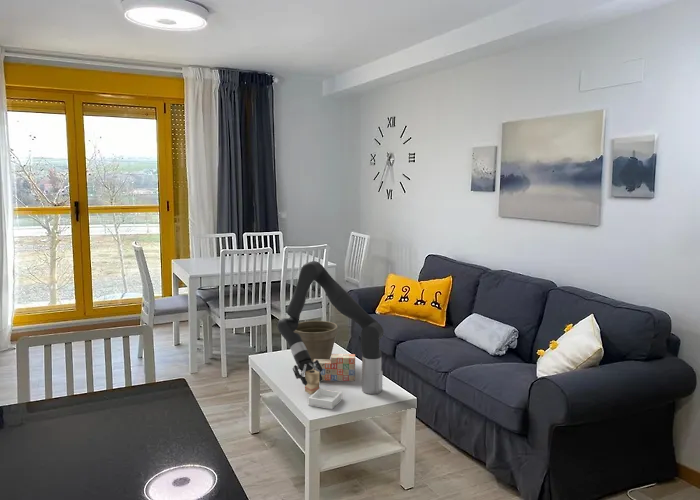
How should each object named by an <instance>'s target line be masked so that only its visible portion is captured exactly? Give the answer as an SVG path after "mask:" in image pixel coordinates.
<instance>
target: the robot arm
mask: <svg viewBox="0 0 700 500" xmlns="http://www.w3.org/2000/svg"><path fill="white" fill-rule="evenodd" d="M313 282H316V283H317V284H318V285H319V286H320V287H321V288H322V289H323V290H324V292H325V294H326V296H327V298H328V300H329V303H330V304H331V305H332V306H333V307H334V308H335V309H336V310H337V311H338V312H339V313H340V314H341V315H343V316H345V317H347V318H349V319H351V320H352V321H354V322H355V323H357V324H358V326H360V328H361V331H360V351H361V355H362V356H361V363H362V364H361V391H362V392H363V393H365V394H367V395H368V394H369V395H378V394H380V393H381V392H382V391H383V377H384V376H383V375H384V373H383V372H384V371H383V370H382V350H381V349H380V340H381V339H382V338H383V336H384V335H385V333H384V331H385V330H384V328H383V326H382V325H381V323H379V322H378V321H377V320H376V319H375V318H374V317H372V316H371V315H370V314H369V313H368V312H366V311H365V309H363V307H361V305H360V304H359V303H358V302H357V301H356V300H355V299H354V298H353V297H352V296H351V295H350V294H349V293H348V291H346V290H345V289H344V288H343V287H342V286H341V285H340V284H339V283H338V281H336V280H335V279H334V278H333V277H332V275H331V274H330V273H329V271H327V269H326V268H325V267H324V266H323V265H322V263H320V262H319V261H316V260H315V261H314V260H313V261H309V262H305V263H304V264H303V265H302V266H301V268H300V273H299V276H298V280H297V283H296V287H295V290H294V292H293V294H292V297H291V299H290V301H289V304H288V306H287V309H286V314H287V315H288V316H289V317H288V318H285V317H283V318H280V319H279V320H278V322H277V326H276V327H277V330H278V332H279V334H280V335H281V336H282V338H283V339H284V340H285V341H286V342H287V344H288V346H289V349H290V351H291V352H290V353H291V355H292V357H293V359H294V361H295V364H296V365H294V366H293V367H292V371H293V373H294V376H295V379H297V380H299V379H300V380H301V383H302V385H303V386H304V387H305V386H306V385H307V384H308V383H307V381H306V379H305V371H309V370H312V369H314V370H316V371H318V372H319V383H320V382H322V381H323V380H322V376H321V371H322V370H323V369H322V367H321V365H320V363H319V361H318V360H316V361H314V362H312V360H311V357H310V355H309V353H308V351H307V348H306V346H305V345H304V343H303V341H302V339H301V337H300V335H299V334H298V333H295V332H294V331H295V330H296V329H297V327H298V324H299V323H300V317H301V316H300V315H301V313H302V311H303V309H304V307H305V304H306V300H307V299H306V298H307V294H308V291H309V289H310V287H311V285H312V284H313ZM315 366H316V367H315ZM299 370H300V372H299Z"/></svg>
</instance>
